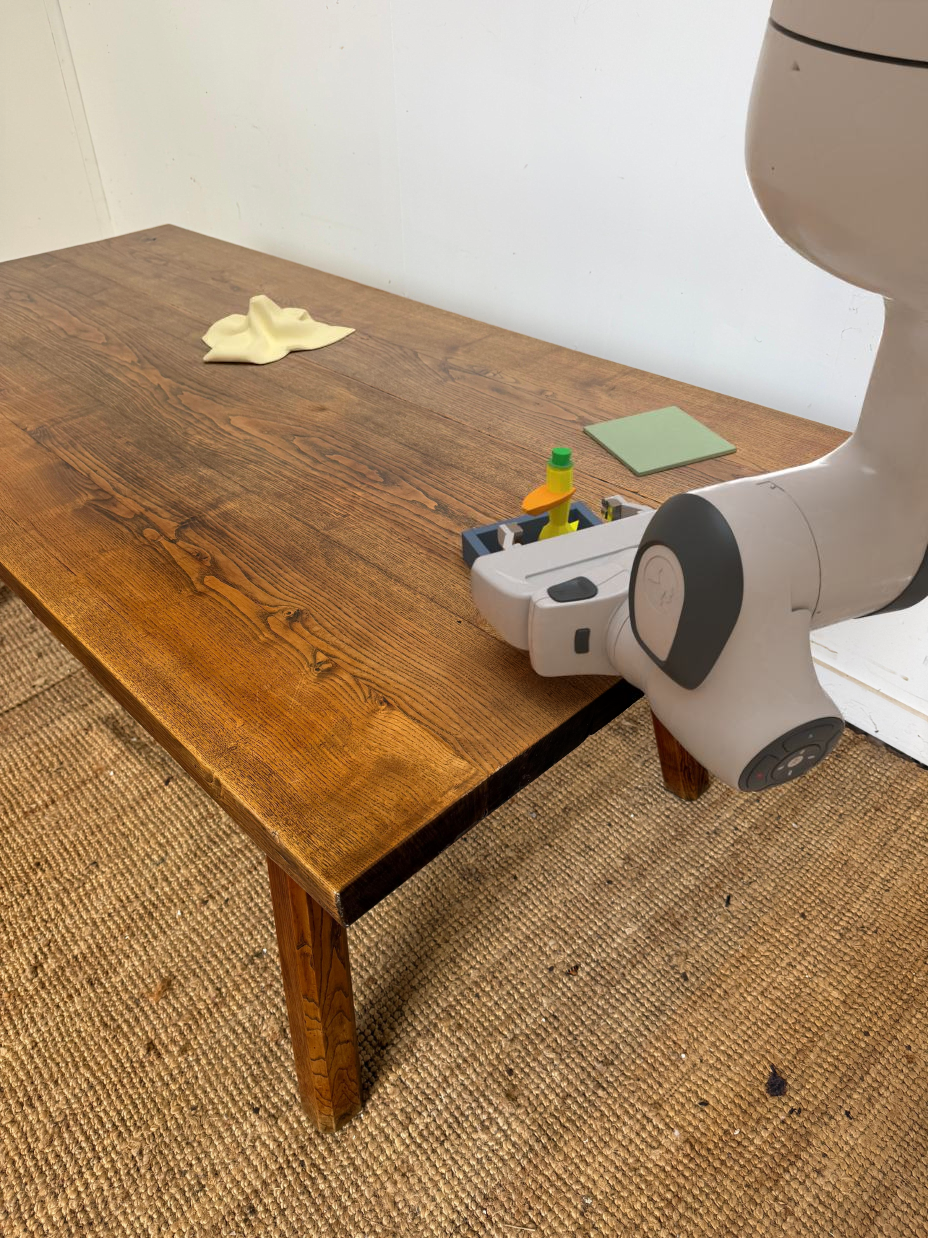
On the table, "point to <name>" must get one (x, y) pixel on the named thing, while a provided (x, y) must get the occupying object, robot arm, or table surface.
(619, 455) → the felt mat
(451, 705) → the table surface
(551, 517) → the toy figure
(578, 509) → the open square frame
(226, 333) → the cloth
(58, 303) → the table surface
